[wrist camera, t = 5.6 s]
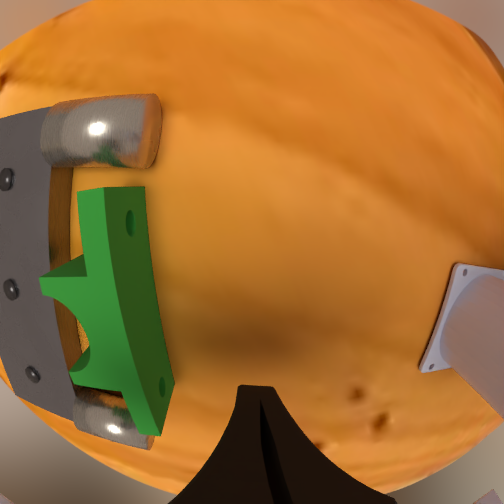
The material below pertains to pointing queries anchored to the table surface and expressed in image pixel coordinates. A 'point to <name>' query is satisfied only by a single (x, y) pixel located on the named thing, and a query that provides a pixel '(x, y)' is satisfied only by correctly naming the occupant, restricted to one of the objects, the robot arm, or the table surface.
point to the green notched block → (117, 304)
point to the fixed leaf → (60, 246)
